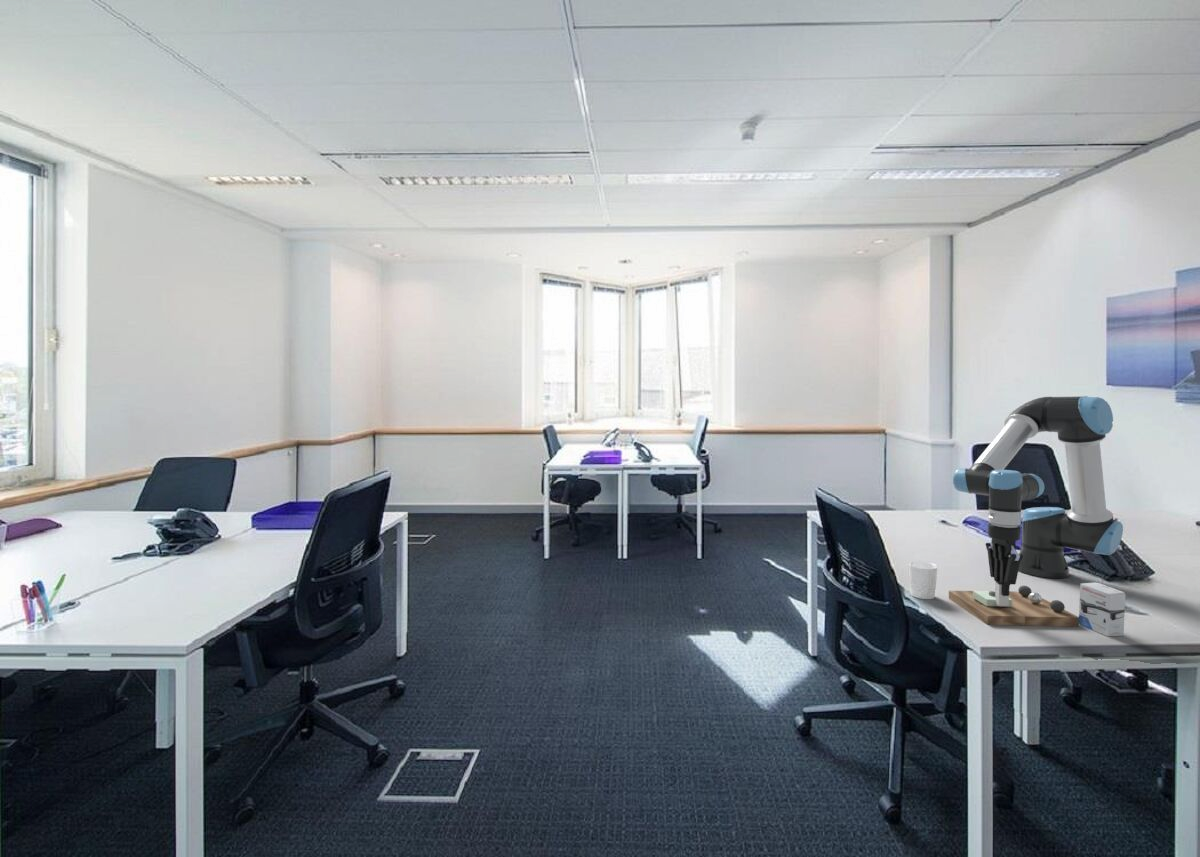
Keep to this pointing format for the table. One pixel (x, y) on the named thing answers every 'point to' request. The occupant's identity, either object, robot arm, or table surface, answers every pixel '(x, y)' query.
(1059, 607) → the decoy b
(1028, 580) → the table surface
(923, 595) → the white cup
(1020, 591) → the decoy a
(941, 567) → the table surface
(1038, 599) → the steel ball
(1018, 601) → the wooden cutting board
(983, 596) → the mint green square lid
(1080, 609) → the ink box
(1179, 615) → the table surface
